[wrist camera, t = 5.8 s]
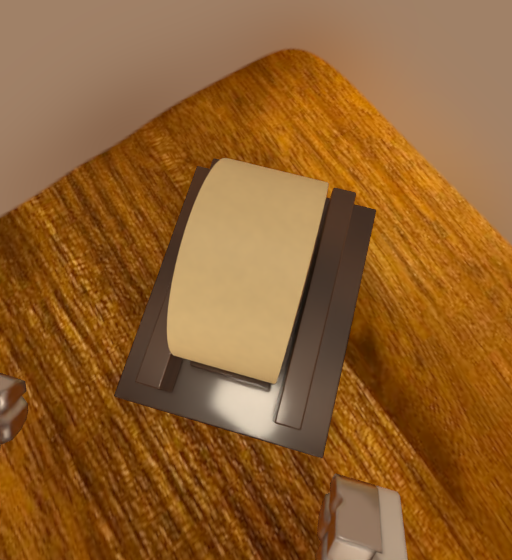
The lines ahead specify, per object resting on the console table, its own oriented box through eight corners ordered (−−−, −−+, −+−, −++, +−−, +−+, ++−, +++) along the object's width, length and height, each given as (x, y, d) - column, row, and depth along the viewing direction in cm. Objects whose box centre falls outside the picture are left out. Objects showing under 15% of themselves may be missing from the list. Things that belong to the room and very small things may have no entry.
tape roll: (273, 390, 22) (284, 376, 13) (186, 365, 22) (142, 336, 14) (314, 234, 25) (344, 138, 16) (235, 214, 25) (223, 110, 16)
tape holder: (320, 456, 22) (333, 465, 18) (119, 396, 23) (91, 394, 19) (372, 216, 26) (392, 183, 22) (199, 174, 27) (189, 134, 23)
